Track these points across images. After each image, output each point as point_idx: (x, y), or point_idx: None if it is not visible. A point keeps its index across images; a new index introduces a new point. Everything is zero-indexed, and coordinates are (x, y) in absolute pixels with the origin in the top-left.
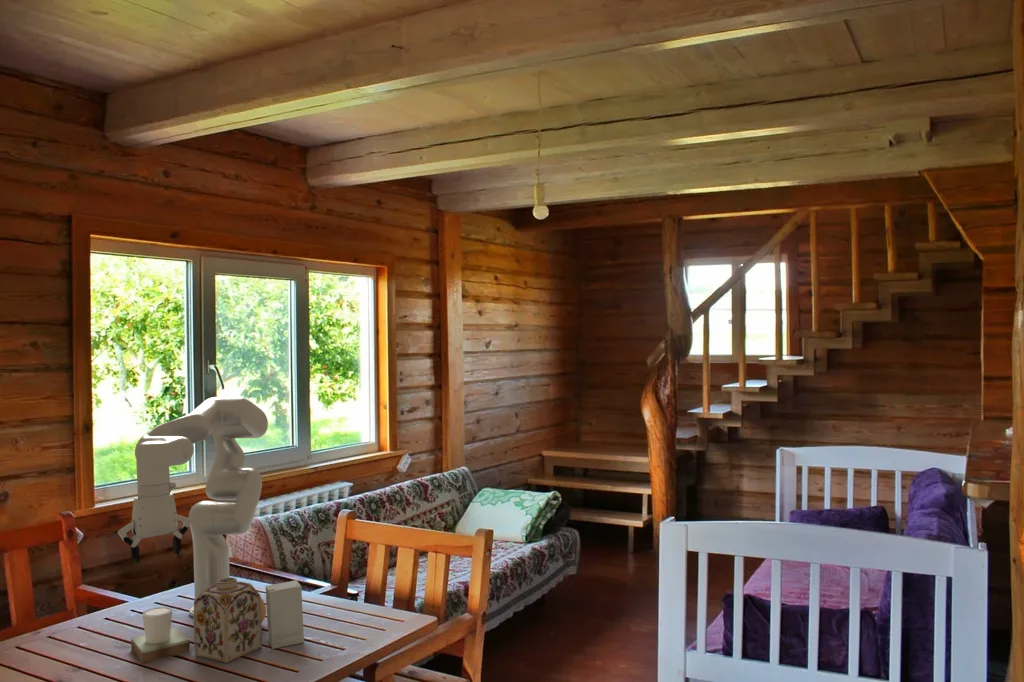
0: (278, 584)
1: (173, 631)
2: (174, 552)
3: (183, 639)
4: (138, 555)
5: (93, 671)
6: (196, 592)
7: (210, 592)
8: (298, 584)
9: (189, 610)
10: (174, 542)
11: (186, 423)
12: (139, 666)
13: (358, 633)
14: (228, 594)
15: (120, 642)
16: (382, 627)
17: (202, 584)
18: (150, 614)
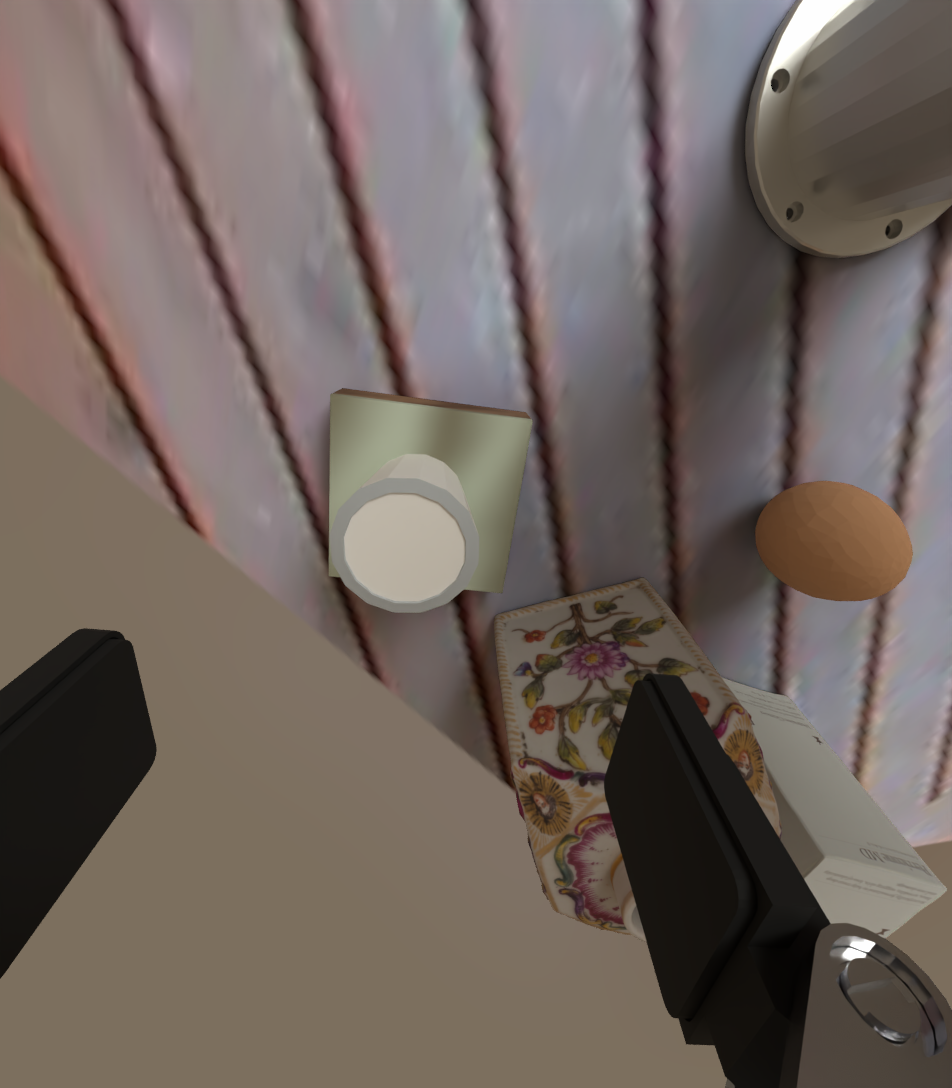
0: (860, 885)
1: (502, 455)
2: (623, 734)
3: (487, 575)
4: (84, 847)
5: (179, 499)
6: (881, 43)
7: (561, 883)
8: (894, 928)
9: (782, 34)
10: (674, 896)
11: None
12: (323, 571)
13: (880, 777)
14: (603, 928)
15: (330, 228)
16: (948, 784)
17: (937, 97)
18: (362, 563)
